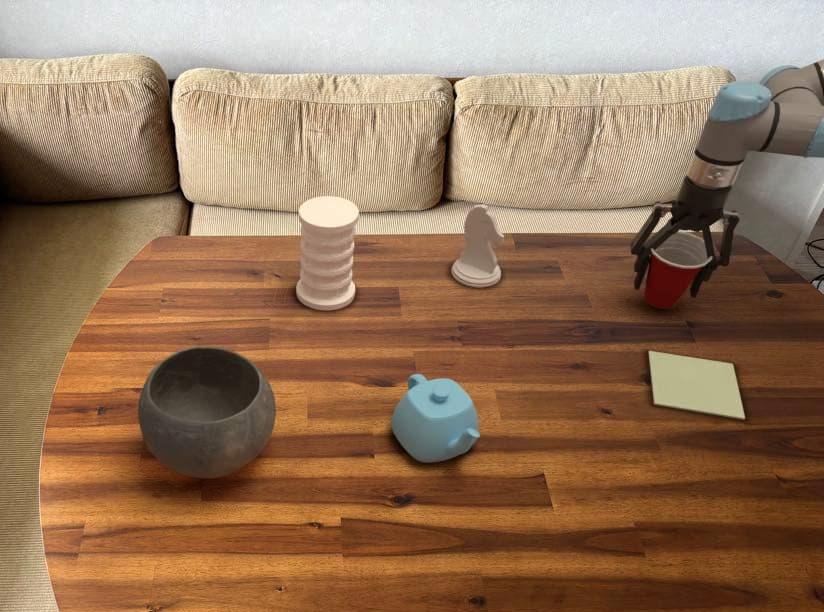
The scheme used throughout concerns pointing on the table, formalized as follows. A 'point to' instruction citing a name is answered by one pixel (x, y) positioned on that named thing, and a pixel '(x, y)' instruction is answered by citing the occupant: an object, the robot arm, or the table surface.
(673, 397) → the mat
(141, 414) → the bowl
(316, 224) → the decorative container
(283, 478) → the table surface
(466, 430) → the teapot
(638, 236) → the robot arm
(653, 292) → the plastic cup
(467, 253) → the chess piece
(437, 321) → the table surface
